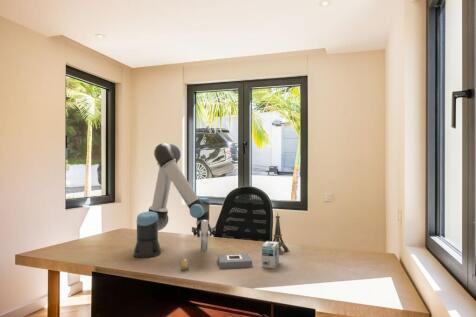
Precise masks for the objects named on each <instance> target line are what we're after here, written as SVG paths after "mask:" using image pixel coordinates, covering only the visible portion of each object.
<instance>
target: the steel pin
mask: <svg viewBox="0 0 476 317" xmlns="http://www.w3.org/2000/svg"><path fill="white" fill-rule="evenodd" d="M208 245H209V239H208V220H201V239H200V252H201V253H208V252H209V251H208V249H209V248H208V247H209V246H208Z"/></svg>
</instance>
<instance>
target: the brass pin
mask: <svg viewBox="0 0 476 317" xmlns="http://www.w3.org/2000/svg"><path fill="white" fill-rule="evenodd" d="M189 260H190V259H189V258H181V259H180V271H182V272H188V271H189V262H190V261H189Z"/></svg>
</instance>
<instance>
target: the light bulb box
mask: <svg viewBox="0 0 476 317" xmlns="http://www.w3.org/2000/svg"><path fill="white" fill-rule="evenodd" d="M261 254H262V255H261V260H262V261H261V264H262V268H267V269H268V268H269V269H276V267H277V266H278V265H279V263H280V255H279V242H273V241H270V240H266V241H265V242H264V243H263V244H262V246H261Z"/></svg>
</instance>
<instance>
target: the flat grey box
mask: <svg viewBox="0 0 476 317" xmlns="http://www.w3.org/2000/svg"><path fill="white" fill-rule="evenodd" d="M217 261H218V262H217V263H218V266H219V269H223V270H224V269H235V268H236V269H237V268H238V269H239V268H252V267H253V260H252V259H251V257H250V256H249V254H248V253H247V252H246V253H245V252H244V253H226V254H224V253H223V254H219V253H218V254H217Z"/></svg>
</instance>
